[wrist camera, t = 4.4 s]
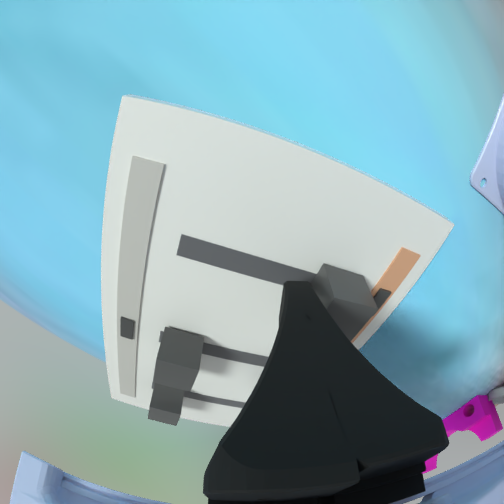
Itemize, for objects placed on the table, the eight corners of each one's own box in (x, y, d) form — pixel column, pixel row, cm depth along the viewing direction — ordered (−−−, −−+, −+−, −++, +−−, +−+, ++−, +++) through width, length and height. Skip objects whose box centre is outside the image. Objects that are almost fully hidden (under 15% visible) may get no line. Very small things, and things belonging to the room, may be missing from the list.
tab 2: (184, 388, 17) (180, 414, 15) (180, 401, 18) (176, 425, 16) (155, 380, 16) (149, 406, 15) (153, 395, 18) (148, 418, 16)
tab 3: (363, 275, 11) (378, 308, 10) (335, 314, 13) (345, 347, 11) (323, 263, 11) (334, 297, 9) (297, 305, 12) (303, 340, 11)
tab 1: (204, 337, 14) (199, 370, 12) (194, 361, 15) (190, 391, 13) (165, 326, 13) (156, 358, 12) (160, 352, 14) (152, 382, 13)
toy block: (474, 389, 25) (491, 433, 19) (487, 390, 27) (502, 428, 21) (398, 439, 33) (406, 478, 26) (418, 437, 34) (427, 472, 28)
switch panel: (438, 209, 11) (456, 227, 10) (269, 417, 23) (269, 433, 21) (138, 93, 9) (119, 95, 7) (115, 383, 20) (110, 400, 19)
